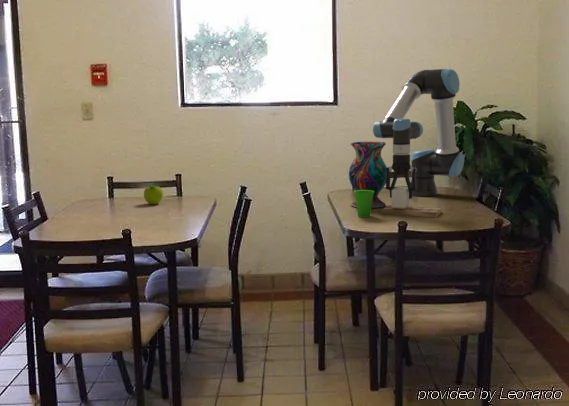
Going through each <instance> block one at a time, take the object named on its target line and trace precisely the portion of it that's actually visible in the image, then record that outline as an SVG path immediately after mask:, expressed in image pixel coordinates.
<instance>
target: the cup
mask: <svg viewBox="0 0 569 406" xmlns="http://www.w3.org/2000/svg"><path fill="white" fill-rule="evenodd" d="M353 193H354V198H355V199H354V200H355V201H356V205H357V207H356V211H357V216H358V217H359V218H370V217H371V212H372V208H371V207H372V200H373V194H374V191H372V190H354V191H353Z"/></svg>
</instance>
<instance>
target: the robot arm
mask: <svg viewBox="0 0 569 406" xmlns="http://www.w3.org/2000/svg"><path fill="white" fill-rule="evenodd" d="M401 88H402V89H401V91H400V94H399V95H398V97H397V98H396V100H395V102H394V103H393V104H392V106H391V107H390V109H389V111H388V112H387V114H386V115H385V117H384V118H383V120H382V121H375V122H374V124H373V126H372V132H373V136H374V137H375V138H377V139H392V153H393V155H392V165H391V166H386V167H387V168H386V171H387V178H386V184H385V189H386V190H389V198H390V199H392V190H393V189H395V188H396V187H395V186H396V183H397V180H398V177H399V176H403V177H404V180H405V182H406V186H407V187H408V190H409V191H408V192H407V206H411V199H412V198H413V197H432V196H433V197H434V196H437V195H438V188H437V185H436V181H435V176H441V177H444V176H445V177H458V176H459V175H460V174H461V173H462V171H463V169H464V163H465V155H464V154H463V153H462V152H460V149H459V147H457V144H456V131H455V127H456V126H455V117H454V115H455V114H454V99H455V98H456V96H457V95H456V94H458V93H459V90H460V79H459V75H458V73H457V72H456V71H455V70H454V69H448V68H447V69H446V68H439V69H423V70H419V71H417V72H416V73H414V74H413V75H411V76H410V77H409V78H408V79H407V80H406V81H405V82H404V84H403V85H402V87H401ZM425 94H427V95H430V97H431V100H432V101H434V109H435V110H434V111H435V120H436V121H435V122H436V135H437V137H436V138H437V149H432V148H431V149H425V150H424V149H423V150H415V151H413V152H412V154H411V155H410V153H411V140H413V139H414V140H416V139H418V138H420V137H421V136H422V135H423V133H424V127H423V125H422V124H421V123H420V122H418V121H411V120H410V118H405V116H406V115H407V113H408V112H409V110H410V109H411V107H412V106H413V104H414V102H415V101H416V100H417V99H419V98H420V97H421V95H422V96H423V95H425ZM392 170H393V172H394V174H393V178H392V181H391V174H392ZM409 171H411V177H410V176H409ZM410 178H411V180H410Z"/></svg>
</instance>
